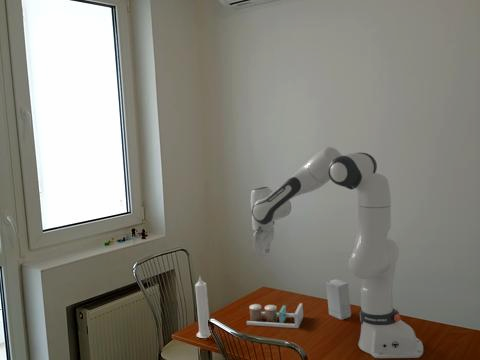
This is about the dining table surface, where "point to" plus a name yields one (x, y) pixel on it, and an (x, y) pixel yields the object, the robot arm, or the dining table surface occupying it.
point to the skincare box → (338, 299)
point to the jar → (255, 312)
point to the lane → (298, 319)
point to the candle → (202, 309)
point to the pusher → (282, 314)
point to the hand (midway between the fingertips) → (264, 255)
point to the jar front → (271, 313)
